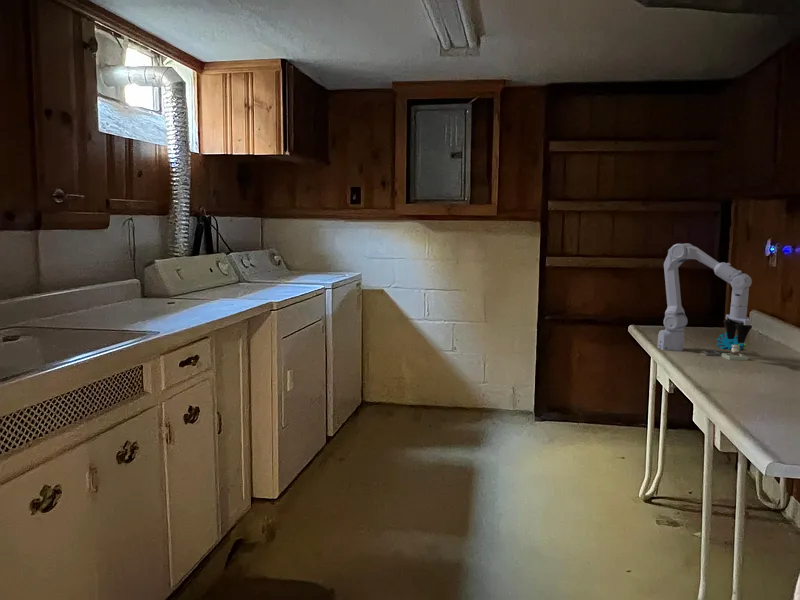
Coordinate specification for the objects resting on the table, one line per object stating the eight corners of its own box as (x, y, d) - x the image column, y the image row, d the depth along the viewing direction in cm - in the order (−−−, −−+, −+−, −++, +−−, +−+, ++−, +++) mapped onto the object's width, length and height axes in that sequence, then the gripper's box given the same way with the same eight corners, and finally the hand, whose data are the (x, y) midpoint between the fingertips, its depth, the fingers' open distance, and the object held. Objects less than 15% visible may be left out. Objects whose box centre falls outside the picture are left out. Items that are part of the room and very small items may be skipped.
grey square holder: (705, 358, 263) (705, 353, 263) (698, 355, 269) (699, 350, 269) (722, 359, 263) (722, 353, 263) (715, 356, 269) (715, 350, 269)
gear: (714, 347, 279) (720, 328, 284) (713, 355, 283) (719, 336, 288) (743, 354, 274) (749, 335, 278) (741, 362, 278) (747, 343, 283)
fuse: (732, 360, 258) (733, 345, 257) (728, 359, 261) (730, 344, 260) (739, 361, 258) (741, 346, 257) (736, 359, 261) (737, 344, 260)
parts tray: (729, 362, 256) (729, 356, 256) (721, 359, 262) (721, 353, 262) (747, 363, 257) (747, 356, 256) (739, 359, 263) (739, 353, 262)
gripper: (759, 308, 250) (756, 344, 251) (739, 303, 264) (736, 337, 266) (740, 308, 250) (737, 344, 251) (721, 302, 264) (718, 337, 266)
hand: (735, 340), depth 259 cm, fingers open, 7 cm apart
